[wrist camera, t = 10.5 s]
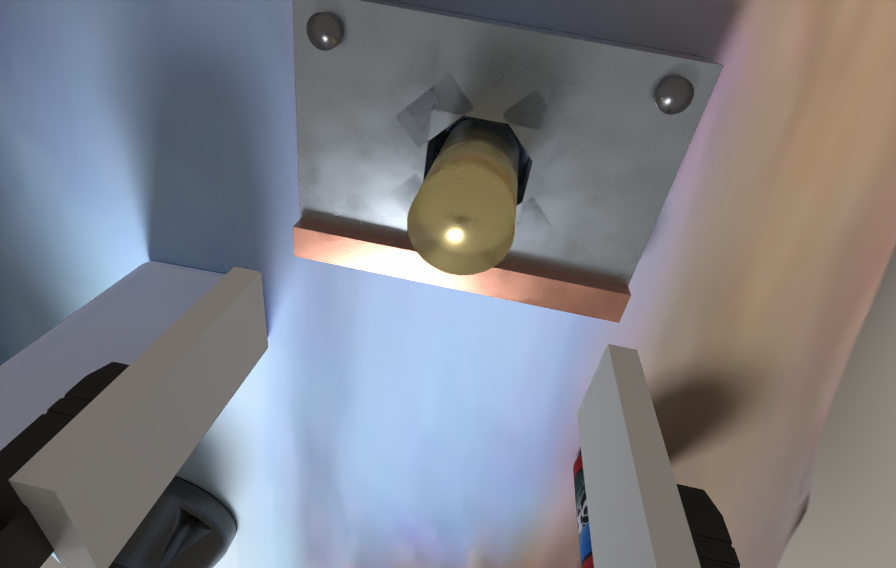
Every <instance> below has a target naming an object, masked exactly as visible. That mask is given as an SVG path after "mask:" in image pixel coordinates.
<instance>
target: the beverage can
mask: <svg viewBox="0 0 896 568" xmlns="http://www.w3.org/2000/svg"><path fill="white" fill-rule="evenodd" d="M573 472H574V485H575V498H576V511H577V523H578V534H579V545H580V556H581V566H582V568H594V563H593V554H592V545H591V536H590V527H589V518H588V508H587V499H586V490H585V481H584V472H583V463H582V454H581V455H580V456H579V457H578V458H577V460H576V461H575V464H574V468H573Z"/></svg>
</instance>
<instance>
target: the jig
mask: <svg viewBox="0 0 896 568" xmlns="http://www.w3.org/2000/svg"><path fill="white" fill-rule="evenodd" d="M293 28H294V58H295V87H296V117H297V146H298V176H299V206H300V220H299V221H298V222H297V223H296V224H295V225H294V226H293V239H294V256H297V257H302V258H307V259H312V260H317V261H321V262H326V263H331V264H336V265H341V266H346V267H351V268H355V269H360V270H365V271H370V272H375V273H380V274H385V275H389V276H394V277H399V278H404V279H409V280H414V281H419V282H424V283H428V284H433V285H438V286H443V287H448V288H453V289H458V290H462V291H467V292H472V293H477V294H482V295H487V296H492V297H496V298H501V299H506V300H511V301H516V302H521V303H526V304H531V305H535V306H540V307H545V308H550V309H555V310H560V311H565V312H569V313H574V314H579V315H584V316H589V317H594V318H599V319H603V320H608V321H613V322H618V323H619V321H620V319H621V317H622V315H623V312H624V310H625V308H626V306H627V303H628V301H629V299H630V297H631V294H630V291H629V288H628V285H629V282H630V280H631V278H632V275H633V273H634V271H635V269H636V266H637V264H638V262H639V259H640V257H641V255H642V252H643V250H644V248H645V246H646V243H647V241H648V239H649V236H650V234H651V232H652V229H653V227H654V225H655V222H656V220H657V218H658V216H659V213H660V211H661V209H662V206H663V204H664V202H665V199H666V197H667V195H668V192H669V190H670V188H671V186H672V183H673V181H674V179H675V176H676V174H677V172H678V169H679V167H680V165H681V162H682V160H683V158H684V156H685V153H686V151H687V149H688V146H689V144H690V142H691V139H692V137H693V135H694V133H695V130H696V128H697V126H698V123H699V121H700V119H701V116H702V114H703V112H704V109H705V107H706V105H707V103H708V100H709V98H710V96H711V93H712V91H713V89H714V86H715V84H716V82H717V79H718V77H719V75H720V73H721V70H722V68H723V65H721V64H718V63H716V62H713V61H711V60H708V59H706V58H703V57H699V56H693V55H688V54H682V53H676V52H671V51H665V50H660V49H654V48H648V47H643V46H637V45H632V44H626V43H620V42H615V41H609V40H604V39H598V38H592V37H587V36H581V35H576V34H570V33H564V32H559V31H553V30H548V29H542V28H537V27H531V26H525V25H520V24H514V23H509V22H503V21H497V20H492V19H486V18H481V17H475V16H469V15H464V14H458V13H453V12H447V11H441V10H436V9H430V8H425V7H419V6H413V5H408V4H402V3H397V2H391V1H385V0H293ZM462 116H469V117H474V118H479V119H485V120H490V121H495V122H501V123H506V124H509V126H510V127H511V129H512V130H513V132H514V133H515V135H516V136H517V138H518V140H519V141H520V143H521V144H522V146H523V147H524V149H525V150H526V152H527V154H528V155H529V161H528V165H527V169H526V173H525V177H524V182H523V184H521V185H519V186H518V187H517V204H516V221H515V235H514V240H513V243H512V246H511V248H510V250H509V252H508V253H507V255H506V256H505V257H504V258H503V259H502V261H501V262H499V263H498V264H497V265H496V266H494V267H493V268H491V269H489V270H487V271H485V272H482V273H479V274H474V275H454V274H449V273H445V272H443V271H440V270H438V269H436V268H434V267H433V266H431V265H430V264H428V263H427V262H426V261H425V260H423V259H422V258H421V257H420V255H419V254H418V253H417V252H416V250H415V249H414V247H413V245H412V243H411V241H410V238H409V235H408V230H407V217H408V212H409V209H410V206H411V204H412V202H413V200H414V198H415V196H416V194H417V192H418V191H419V189H420V187H421V185H422V183H423V181H424V180H425V178H426V176H427V174H428V172H429V170H430V169H431V167H432V165H433V157H434V150H435V142H436V135H438V134H439V133H440V132H442V131H443V130H444V129H446V128H447V127H448V126H450V125H451V124H453V123H454V122H455V121H457V120H458V119H459V118H461V117H462Z"/></svg>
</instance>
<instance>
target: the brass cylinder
mask: <svg viewBox="0 0 896 568" xmlns="http://www.w3.org/2000/svg"><path fill="white" fill-rule="evenodd" d="M518 171H519V146H518V143H517V140H516V138H515V136H514V134H513V133H512V131H511V130H510V129H509V128H508V127H507V126H506V125H505V124H503V123H501V122H495V121H490V120H485V119H479V118H474V117H473V118H469V119H467V120H464V121H462V122H461V123H459V124H458V125H457V126H456V127H455V128H454V129H453V130H452V131H451V132H450V134H449V135H448V137H447V139H446V141H445V143H444V145H443V146H442V148H441V150H440V152H439V154H438V156H437V158H436V159H435V161H434V163H433V165H432V167H431V169H430V170H429V172H428V174H427V176H426V178H425V180H424V181H423V183H422V185H421V187H420V189H419V191H418V192H417V194H416V196H415V198H414V200H413V202H412V204H411V206H410V209H409V212H408V217H407V230H408V235H409V238H410V241H411V243H412V245H413V247H414V249H415V250H416V252H417V253H418V254H419V255H420V257H421V258H422V259H423V260H425V261H426V262H427V263H428V264H430V265H431V266H433V267H434V268H436V269H438V270H440V271H443V272H445V273H449V274H454V275H474V274H479V273H482V272H485V271H487V270H489V269H491V268H493V267H494V266H496V265H497V264H498V263H499V262H501V261H502V259H503V258H504V257H505V256H506V255H507V253H508V252H509V250H510V248H511V246H512V243H513V240H514V235H515V221H516V204H517V187H518Z"/></svg>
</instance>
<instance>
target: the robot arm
mask: <svg viewBox="0 0 896 568" xmlns="http://www.w3.org/2000/svg"><path fill="white" fill-rule="evenodd" d="M267 348H268V340H267V329H266V318H265V307H264V296H263V284H262V273H261V272H259V271H255V270H250V269H245V268H240V267H235V266H234V267H233V268H232V269H231V270H230V271H229V272H228V273H227V274H226V275H225V276H224V277H223V278H222V279H221V280H219V281H218V282H217V283H216V284H215V285H214V286H213V287H212V288H211V289H210V290H209V291H208V292H207V293H206V294H205V295H204V296H203V297H201V298H200V299H199V300H198V301H197V302H196V303H195V304H194V305H193V306H192V307H191V308H190V309H189V310H188V311H187V312H186V313H185V314H184V315H182V316H181V317H180V318H179V319H178V320H177V321H176V322H175V323H174V324H173V325H172V326H171V327H170V328H169V329H168V330H167V331H166V332H164V333H163V334H162V335H161V336H160V337H159V338H158V339H157V340H156V341H155V342H154V343H153V344H152V345H151V346H150V347H149V348H148V349H146V350H145V351H144V352H143V353H142V354H141V355H140V356H139V357H138V358H137V359H136V360H135V361H134V362H133V363H132V364H131V365H127V364H122V363H118V362H111V363H109V364H107V365H105V366H103V367H102V368H100V369H98V370H96V371H94V372H92V373H90V374H88V375H86V376H85V377H84V378H83V379H82V380H80V381H79V382H78V383H77V384H76V385H75V386H74V387H72V388H71V389H70V390H69V391H68V392H67V393H66V394H65V396H64V398H60V399H59V400H58V401H56V402H55V403H54V404H53V405H52V406H51V407H50V408H48V409H47V412H46V414H42V415H40V416H39V417H38V418H37V419H36V420H35V421H34V422H32V423H31V424H30V425H29V426H28V427H27V428H26V429H24V430H23V431H22V432H21V433H20V434H19V435H18V436H16V437H15V438H14V439H13V440H12V441H11V442H10V443H9V444H7V445H6V446H5V447H4V448H3V449H2V450H1V451H0V568H40V567H41V566H42V564H43V563H44V562H45V561H46V560H47V558H48V557H49V556H50V555H51V554H52V553H53V552H54V553H55V555H56V556H57V558H58V560H59V561H60V563H61V564H62V566H63V567H65V568H213V567H214V566H215V565H216V564H217V563H218V562H219V561H220V560H221V559H222V557H223V556H224V555H225V553H226V552H227V550H228V548H229V546H230V544H231V543H232V541H233V539H234V537H235V535H236V525H235V522H234V520H233V518H232V516H231V514H230V513H229V512H228V511H227V509H226V508H225V507H224V506H223V505H222V504H221V503H220V502H218V501H217V500H216V499H215V498H214V497H212V496H211V495H209V494H208V493H206V492H205V491H203V490H201V489H200V488H198V487H196V486H194V485H192V484H190V483H188V482H185V481H183V480H180V479H178V478H175V477H174V476H175V475H176V474H177V472H178V471H179V470H180V468H181V467H182V465H183V464H184V463H185V461H186V460H187V459H188V457H189V456H190V454H191V453H192V452H193V450H194V449H195V448H196V446H197V445H198V443H199V442H200V441H201V439H202V438H203V437H204V435H205V434H206V432H207V431H208V430H209V428H210V427H211V426H212V424H213V423H214V421H215V420H216V419H217V417H218V416H219V415H220V413H221V412H222V410H223V409H224V408H225V406H226V405H227V403H228V402H229V401H230V399H231V398H232V397H233V395H234V394H235V392H236V391H237V390H238V388H239V387H240V386H241V384H242V383H243V381H244V380H245V379H246V377H247V376H248V375H249V373H250V372H251V370H252V369H253V368H254V366H255V365H256V364H257V362H258V361H259V359H260V358H261V357H262V355H263V354H264V353H265V351H266V350H267ZM577 417H578V427H579V436H580V445H581V454H582V463H583V472H584V481H585V490H586V499H587V508H588V518H589V527H590V536H591V545H592V554H593V563H594V568H740V563H739V560H738V558H737V555H736V552H735V549H734V548H732V546H731V544H732V541H731V538H730V536H729V533H728V530H727V527H726V525H725V522H724V519H723V516H722V514H721V513H720V512H719V510H718V509H717V507H716V506H715V505H714V503H713V502H712V501H711V499H710V498H709V496H708V495H707V494H706V492H705V491H704V490H701V489H697V488H692V487H688V486H683V485H679V484H676V481H675V478H674V474H673V471H672V468H671V464H670V461H669V457H668V454H667V451H666V447H665V444H664V440H663V437H662V434H661V430H660V427H659V423H658V420H657V417H656V413H655V410H654V406H653V403H652V400H651V396H650V393H649V389H648V386H647V382H646V379H645V376H644V372H643V369H642V365H641V362H640V359H639V355H638V352H637V350H635V349H630V348H625V347H620V346H616V345H611V344H608V345H607V347H606V350H605V352H604V354H603V356H602V359H601V361H600V363H599V365H598V368H597V370H596V372H595V375H594V377H593V379H592V381H591V384H590V386H589V388H588V390H587V393H586V395H585V397H584V399H583V402H582V404H581V406H580V409H579V411H578V413H577Z"/></svg>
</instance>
